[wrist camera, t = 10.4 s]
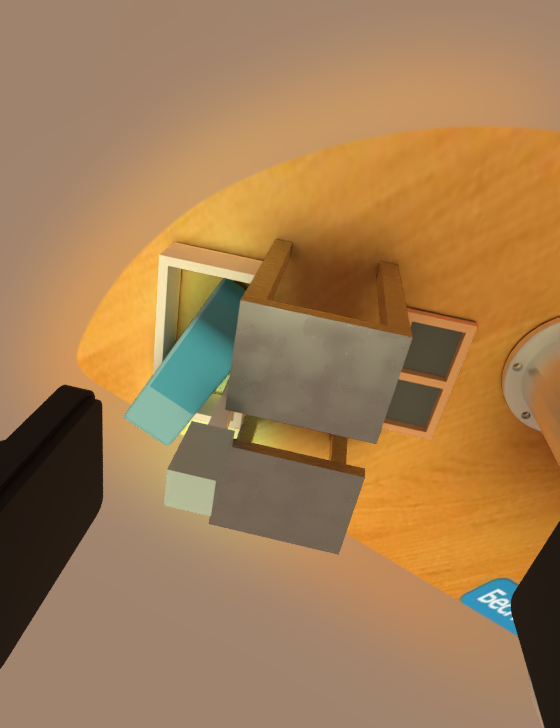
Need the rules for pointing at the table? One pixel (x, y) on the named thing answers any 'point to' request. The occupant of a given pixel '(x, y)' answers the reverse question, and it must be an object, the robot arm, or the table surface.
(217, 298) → the data package
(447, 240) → the table surface
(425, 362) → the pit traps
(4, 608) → the robot arm
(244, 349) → the tunnel
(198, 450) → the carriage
